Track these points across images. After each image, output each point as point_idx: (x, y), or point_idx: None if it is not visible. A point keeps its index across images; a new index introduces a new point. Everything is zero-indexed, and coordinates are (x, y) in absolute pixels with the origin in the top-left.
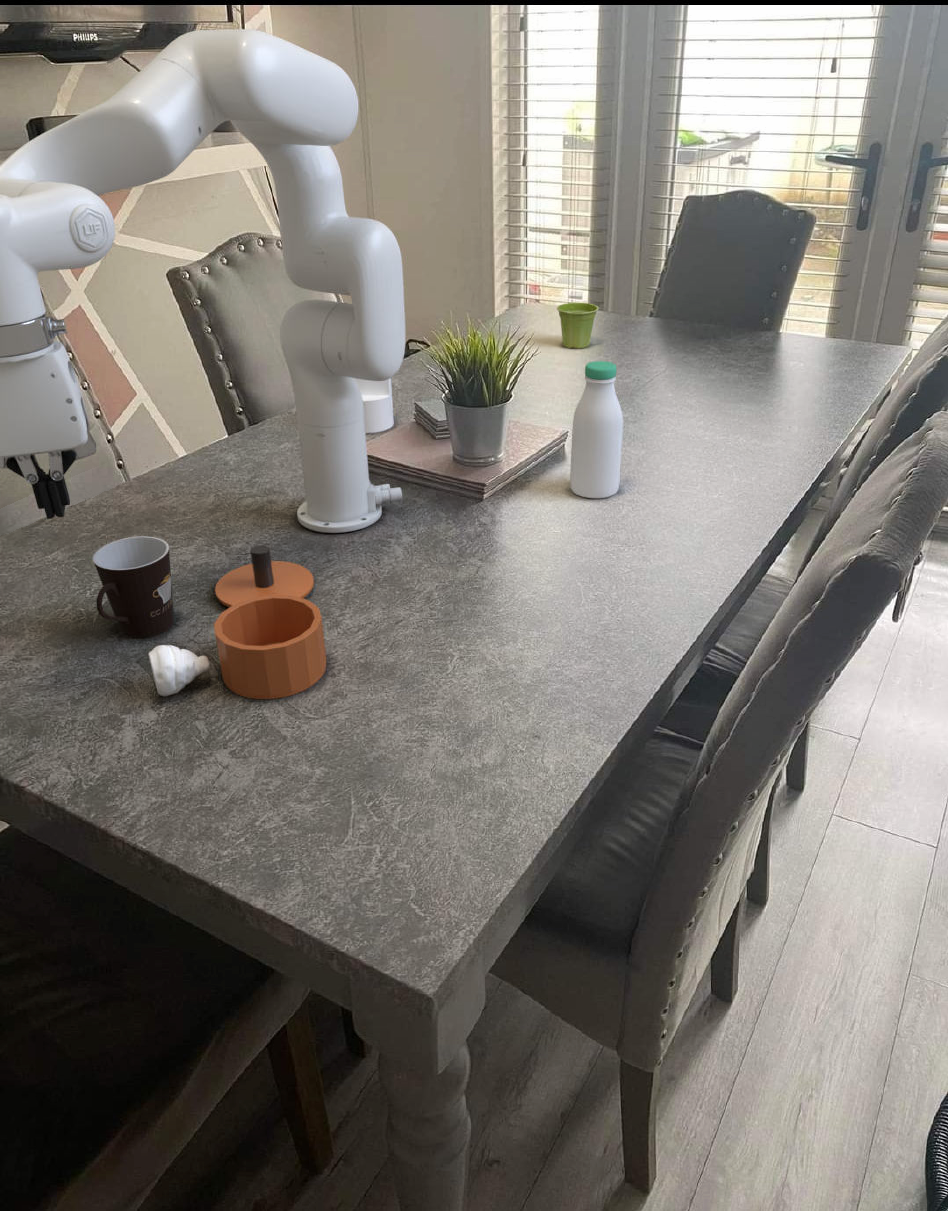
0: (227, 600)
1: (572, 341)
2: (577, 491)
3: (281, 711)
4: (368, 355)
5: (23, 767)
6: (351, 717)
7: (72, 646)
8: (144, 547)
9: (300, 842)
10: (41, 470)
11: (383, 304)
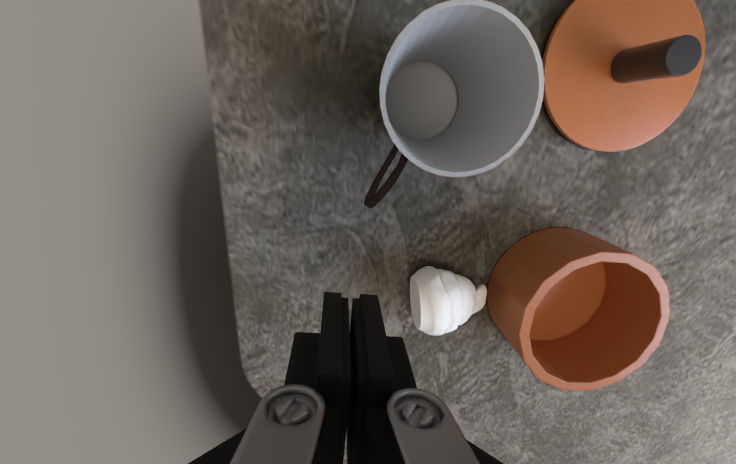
0: (554, 101)
1: None
2: None
3: (526, 365)
4: None
5: (255, 370)
6: (585, 396)
7: (306, 121)
8: (489, 23)
9: None
10: (331, 450)
11: None
